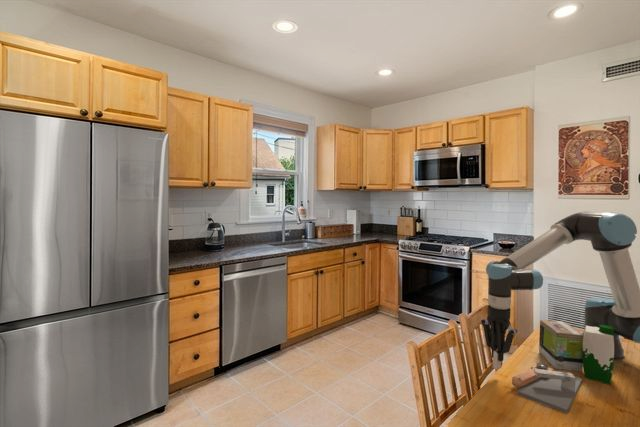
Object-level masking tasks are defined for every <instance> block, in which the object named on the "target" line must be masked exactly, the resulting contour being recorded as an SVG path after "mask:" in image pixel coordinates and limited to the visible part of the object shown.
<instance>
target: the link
mask: <svg viewBox="0 0 640 427" xmlns="http://www.w3.org/2000/svg"><path fill="white" fill-rule="evenodd" d="M534 369H540V368H538V367H537V366H536V364H534V365H531V366H530V369H528V370H525V371H524V372H521V373H520V374H517V375H515V376H512V377H511V385H512V386H513V387H516V388H520V387H522V386H524V385H526V384H528V383H530V382H533V381H535V380H537V379H539V378H541V377H537V376H536V375H535V373H534ZM544 370H550V371H553V370H554V368H552V367H549V366H548V369H544Z"/></svg>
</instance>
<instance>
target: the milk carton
mask: <svg viewBox="0 0 640 427" xmlns="http://www.w3.org/2000/svg"><path fill="white" fill-rule="evenodd" d="M584 327H585V326H584ZM583 332H584V331H583ZM582 363H583V373H584V378H585V379H586V380H591V381H595V382H599V383H602V384H606V385H609V386H610V385H611V381H612V377H613V374H614V367H615V366H614V363H615V359H614V328H613V327H611V326H608V325H600V326H599V328H598V327H591V326H586V327H585V332H584V337H583V349H582Z"/></svg>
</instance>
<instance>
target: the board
mask: <svg viewBox="0 0 640 427" xmlns="http://www.w3.org/2000/svg"><path fill="white" fill-rule="evenodd" d="M553 371H558V372H561V371H560V370H556V369H553ZM574 377H575V392H567V391H564V390H563V388H562V387H561V380H559V379H551V378H544V377H541V378H539V379H537V380H535V381H533V382H530V383H528V384H526V385H524V386H522V387H518V390H517V391H516V394H517V395H518V396H521V397H523V398H526V399H528V400H531V401H533V402H536V403H539V404H540V405H541V404H542V405H544V406H546V407H548V408H552V409H555V410H557V411H560V412H562V413H565V414H568V413H569V410H570V409H571V406H572V404H573V402H574V400H575V398H576V395H577V393H578V391H579V389H580V387H581V385H582V383H583V377H582V378H581V377H578V376H575V375H574Z"/></svg>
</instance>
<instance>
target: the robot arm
mask: <svg viewBox="0 0 640 427" xmlns="http://www.w3.org/2000/svg"><path fill="white" fill-rule="evenodd" d="M637 234H638V229H637V225H636V223H635V222H634V220H633V219H632V218H631V217H630V216H628V215H626V214H624V213H618V212H612V211H611V212H599V211H598V212H597V211H580V212H577V213H573V214H571V215H568V216H566V217H564V218H562V219H560V220H558V221H557V222H554V224H551V226H550V229H549V230H547V231H546V232H544V233H542V234H541V235H540V236H538V237H536V238H535V239H533V240H532V241H530V242H528V243H527V244H525V245H523V246H522V247H520V248H519V249H517V250H515V251H514V252H513V253H511V254H509V255H507V257H506V256H505V258H503V259H501V260H500V261H497V260H493V261H489V263H487V265H486V267H485V272H486V275H487V277H488V278H487V279H488V281H487V282H488V285H487V286H488V289H487V290H488V294H487V317H486V318H485V319H482V320H481V319H480V322H481V325H482V327H483V333H484V336H485V343H486V346H487V347H489V348H490V350H491V358H492V359H493V360H492V361H493V362H492V369H494V370H496V371H497V370H500V369H502V362H503V361H504V354H507V353H509V352H510V351H511V347H512V343H513V340H514V337H515V335H516V334H517V332H518V330H517V329H516V328H513V326H512V324H511V321H510V320H511V306H512V305H511V304H512V291H533V290H539V289H541V288H542V286H543V284H544V277H543V274H542V273H541V272H540V271H539V270H538V269H531V268H529V267H530V266H532V265H533V264H535V263H536V262H538V261H540V260H541V259H542V258H545V256H547V255H549V254H551V253H552V252H554V251H555V250H556V249H559V248H560V247H561V246H563V245H569V244H571V243H573V242H575V241H580V240H581V241H582V240H584V241H590V244H591V247H592V249H593V250H594V251H596V252H598V254H599V256H600V260H601V262H602V266H603V269H604V272H605V276H606V279H607V282H608V283H607V284H608V286H609V288H610V292H611V295H612V297H613V299H612V298H605V297H604V298H603V297H590V298H587V299H586V300H585V303H584V304H585V305H584V330H583V332H582V334H583V335H584V332H585V327H586V326H591V327H598V328H599V326H600V325H608V326H611V327H613V328H614V360H615V359H616V360H617V359H623V358H624V355H625V354H624V353H625V351H624V348H623V346H622V342H621V339H620V337H623V338H625V339H627V340H630V341H631V342H634V343H637V344H638V343H639V344H640V286H639V282H638V279H637V274H636V272H635V271H636V270H635V269H634V265H633V262H632V261H633V260H632V258H631V255H630V251H629V249H630V247H632V245H633V242H634V241H635V239H636V238H637V236H636V235H637ZM527 268H528V269H527Z"/></svg>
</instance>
